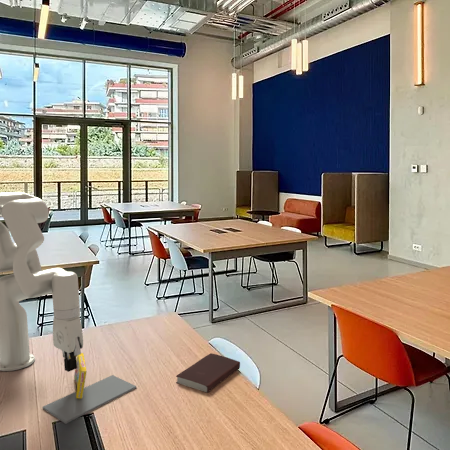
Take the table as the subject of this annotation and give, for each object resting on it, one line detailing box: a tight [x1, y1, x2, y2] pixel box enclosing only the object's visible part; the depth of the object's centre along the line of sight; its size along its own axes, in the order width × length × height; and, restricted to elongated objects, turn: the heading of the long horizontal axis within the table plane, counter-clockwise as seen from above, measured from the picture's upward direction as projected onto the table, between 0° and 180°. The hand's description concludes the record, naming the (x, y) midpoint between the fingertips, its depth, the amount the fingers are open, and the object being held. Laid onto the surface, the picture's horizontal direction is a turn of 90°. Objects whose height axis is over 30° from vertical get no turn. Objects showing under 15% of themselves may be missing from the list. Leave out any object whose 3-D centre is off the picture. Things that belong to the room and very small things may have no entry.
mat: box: [42, 374, 137, 424], centre depth 129 cm, size 12×24×1 cm, turn 141°
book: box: [175, 352, 241, 394], centre depth 142 cm, size 12×19×3 cm, turn 147°
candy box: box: [73, 352, 88, 399], centre depth 133 cm, size 16×2×8 cm, turn 22°
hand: (70, 369), depth 135 cm, fingers closed
